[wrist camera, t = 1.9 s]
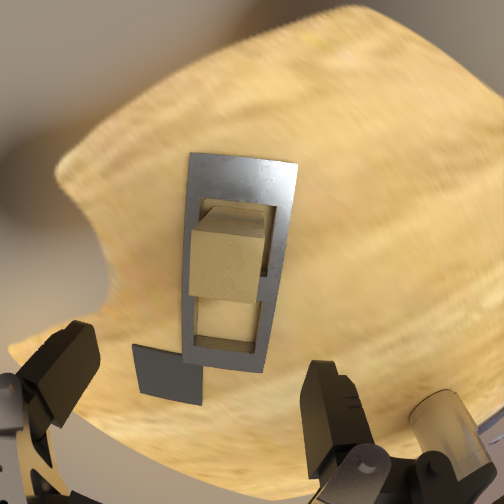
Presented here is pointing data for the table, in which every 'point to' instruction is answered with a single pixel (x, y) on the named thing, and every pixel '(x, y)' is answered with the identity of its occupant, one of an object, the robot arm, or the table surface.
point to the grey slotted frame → (281, 196)
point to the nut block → (227, 255)
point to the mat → (167, 375)
